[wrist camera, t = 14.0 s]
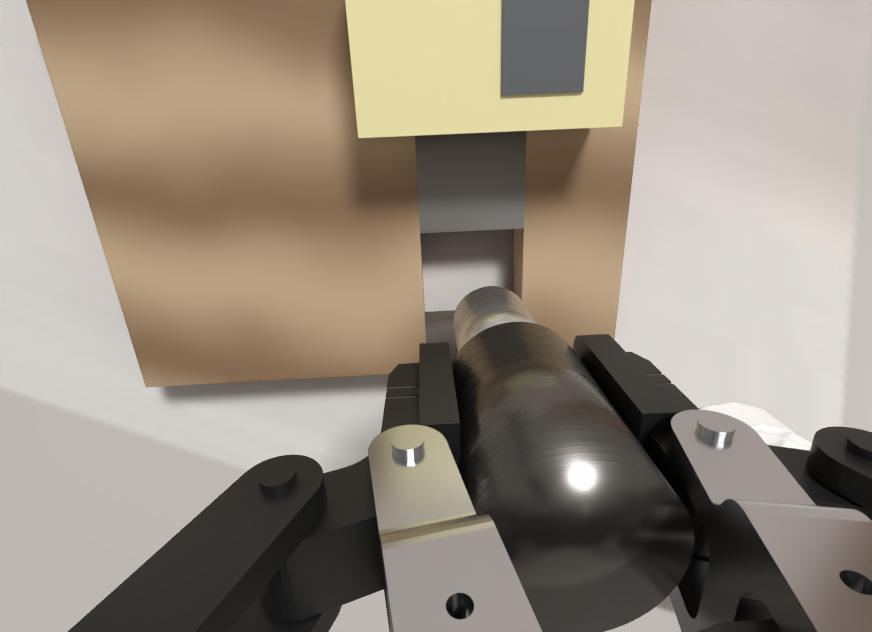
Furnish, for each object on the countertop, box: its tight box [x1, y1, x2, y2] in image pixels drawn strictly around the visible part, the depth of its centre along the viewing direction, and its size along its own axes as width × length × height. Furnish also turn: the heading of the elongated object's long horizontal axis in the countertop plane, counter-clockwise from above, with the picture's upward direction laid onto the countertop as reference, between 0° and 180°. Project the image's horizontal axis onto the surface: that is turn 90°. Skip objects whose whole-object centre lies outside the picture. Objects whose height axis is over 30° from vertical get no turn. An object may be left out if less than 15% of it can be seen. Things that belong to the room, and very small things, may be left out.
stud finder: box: [345, 0, 635, 138], centre depth 14 cm, size 5×8×3 cm, turn 92°
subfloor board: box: [26, 0, 652, 387], centre depth 17 cm, size 16×20×3 cm
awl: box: [452, 286, 694, 632], centre depth 11 cm, size 3×3×9 cm
